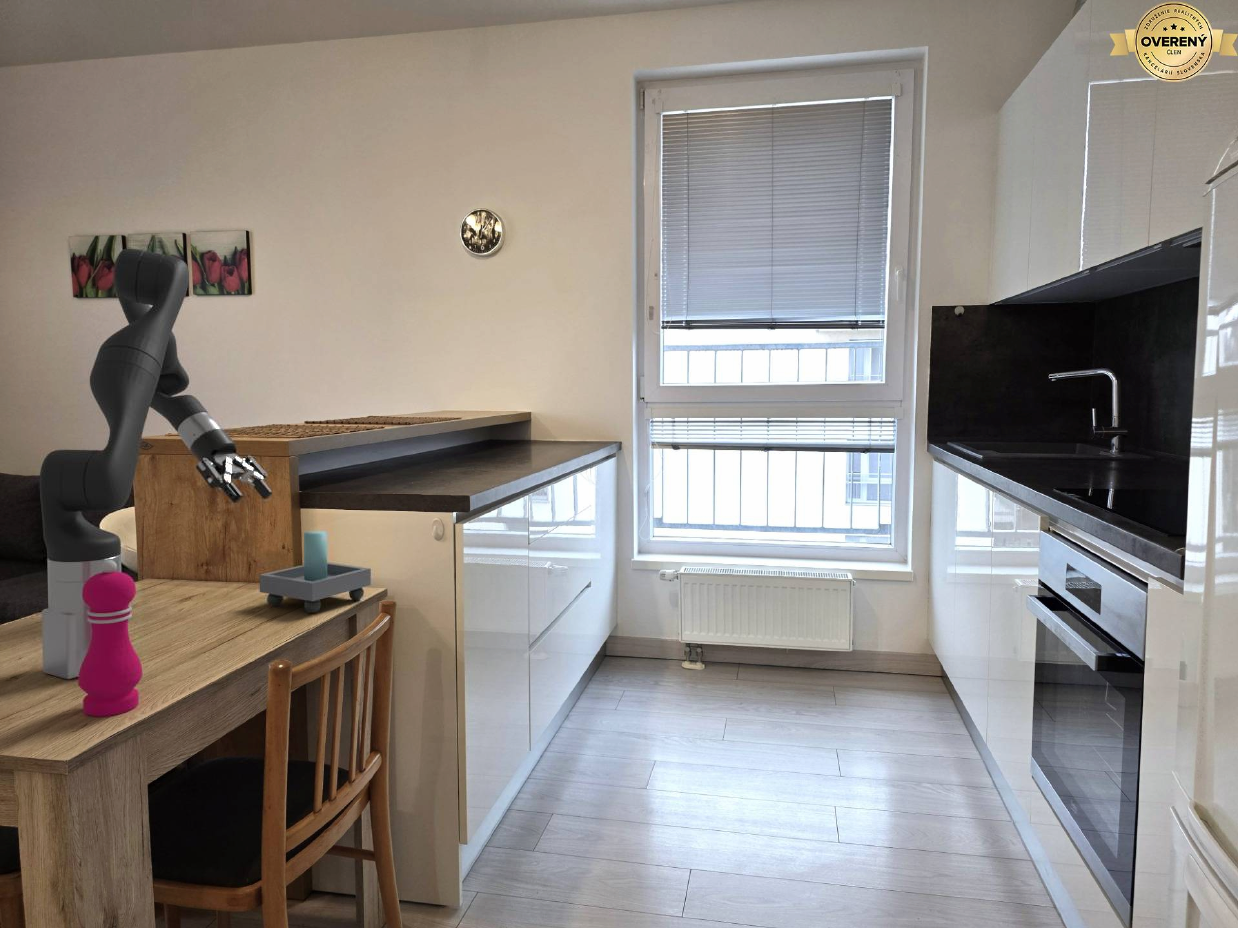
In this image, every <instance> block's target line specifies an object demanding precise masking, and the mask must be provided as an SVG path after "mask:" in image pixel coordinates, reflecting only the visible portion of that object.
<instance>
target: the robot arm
mask: <svg viewBox="0 0 1238 928" xmlns="http://www.w3.org/2000/svg"><path fill="white" fill-rule="evenodd" d="M189 271H190V270H189V267H188V265H187V263H186V262H185V261H184V260H182V259H181V258H177V257H175V256H171V255H168V254H167V255H166V254H162V253H158V252H153V251H148V250H143V249H138V248H125V249H122V250H121V251H120V252H119V253H118V255H117V257H116V259H115V262H114V267H113V275H112V276H113V285H114V290H115V293H116V296H117V299H118V301H119V304H120V307H121V309H122V312H123V314H124V316H125V318H126V320H127V322H128V325H126V326H123V327H122V328H121V329H119V330H118V331H116V332H114V333H113V334H112V335H110V336H109V337H108V338H107V339H106V340H105V341H104V342H102V344H101V345H100V348H98V349H99V350H98V352H97V354H96V358H95V361H94V363H93V366H92V369H91V372H90V375H89V387H90V390H91V393H92V395H93V398H94V399H95V401H96V403H97V405H98V407H99V408H100V410H101V412H102V414H103V416H104V417H105V419H106V422H107V425H108V428H109V437H108V439H107V440H108V441H107V444H106V446H105V448H104V449H101V450H99V449H98V450H97V449H56V450H53V451H50V452H49V453H48V454H47V455H46V456H45V458H44V459H43V461H42V464H41V467H40V472H39V495H40V496H39V497H40V506H41V507H40V508H41V518H42V530H43V531H42V533H43V541H44V543H45V547H46V554H47V555H46V558H47V560H46V561H47V598H48V600H47V601H48V602H47V603H48V607H47V608H44V609H42V611H41V632H42V633H41V635H42V638H41V640H42V673H44V674H48V675H52V676H55V677H59V678H62V679H66V680H70V679H75V678H79V671H80V668H81V665H82V663H83V660H84V658H85V656H86V654H87V651H88V649H89V647H90V643H91V637H92V627H91V623H90V622H88V621H87V618H88V614H87V611H88V610H89V609H90V607H89V606H88V605H87V604H86V603H85V602H84V600H83V598H82V591H83V586H84V584H85V583H86V581H87V580H88V579H89V578H90V577H92V576H94V575H96V574H98V573H102V572H103V571H102V570H101V565H102V563H103V562H105V561H107V560H112V561H114V562H115V563H116V564H117V569H116V570H115V571H117V572H122V542H121V541H122V540H121V538H120V537H119V535H117V534H116V533H114V532H111V531H108V530H106V529H101V528H100V527H97V526H96V525H93V524H91V523H90V522H89V521H88V520H87V519H85V517H84V516H83V513H82V512H116V511H118V510H120V509H122V508H123V507H124V506H125V505H126V503H127V501H128V499H129V497H130V495H131V491H132V488H133V484H134V481H135V480H134V479H135V475H136V470H137V463H138V458H139V452H140V447H141V443H142V442H141V441H142V437H143V432H144V428H145V424H146V421H147V417H148V414H149V410H150V408H151V409H152V410H154V411H156V412H157V413H159V414H160V415H161V416H163V418H165V420H167V421H168V422H169V424H170V425H171V426H172V427H173V429H174V430H175V432H177V433H178V435H179V436H180V438H181V440H182V441H183V443H184V445H186V447H187V448H188V450H189V451H190V452H191V454H192V455H194V457H195V458H196V460H197V461H198V463H197V464H196V466H195V468H196V470H197V471H198V473H199V474H200V476H201V477H202V478H203V480H204V481H205V483H206V484H207V485H208V486H209V487H210V488H211V489H215V488H218V489H219V490H220V491H223V492H224V493H225V495H226V496H227V497H228V498H229V500H231V502H232V503H233V504H237V503H239V502H240V501H241V500H242V499H243V497H244V494H243V493H242V492H241V491H240V490H239V488H238V487H237V486H236V485H235V484H234V483H233V482H232V481H231V480H239V481H241V482H242V483H247V484H249V485H251V486H253V488H254V490H255V491H256V492H257V493H258V494H259V496H260V497H261V498H262V499H263V500H268V499H269V498H270V496H272V495H273V491H272V490H271V488H270V487H269V486H268V484H267V483H266V482H265V481H264V480H265V479H266V478H267V477H268V473H267V472H266V471H265V470H264V468H262V466H261V465H260V464H259V463H258V461H256V460H255V458H254V457H253V456H251V455H247V456H246V458H242V457H241V456H240V455H239V454H238V453H237V448H238V447H237V444H236V443H235V442H234V440H233V439H232V438H231V437H230V435H229V434H228V433H227V431H226V430H225V429H224V428H223V427H222V426H221V424H220V423H219V421H217V420H216V418H214V417H213V416H212V415H211V414H210V413H209V412H208V411H207V409H206V408H205V407H204V406H203V404H202V403H201V402H200V401H199V400H198V398H197V397H195V396H194V395H192V394H182V395H181V394H180V393H183V392H184V391H186V390H187V388H188V387H189V384H190V378H189V375H188V373H187V372H186V370H185V369H184V367H183V365H182V364H181V362H180V360H179V356H178V348H177V347H178V346H177V340H176V336H175V333H174V332H173V327H174V326H175V323H176V321H177V318H178V316H179V313H180V310H181V309H182V305H183V303H184V300H185V297H186V295H187V290H188V287H189V281H190V272H189ZM178 394H180V395H178ZM175 395H176V396H175ZM245 472H246V473H245ZM212 477H213V479H212Z"/></svg>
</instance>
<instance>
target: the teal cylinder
mask: <svg viewBox="0 0 1238 928" xmlns="http://www.w3.org/2000/svg"><path fill="white" fill-rule="evenodd" d="M303 556H304V557H303V561H304V562H303V563H304V564H303V565H304V580H307V581H316V580H320V579H324V578H327V562H328V532H327V531H326V530H325V531H324V530H311V531H305V532H304V533H303Z"/></svg>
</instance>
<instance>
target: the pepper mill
mask: <svg viewBox="0 0 1238 928" xmlns="http://www.w3.org/2000/svg"><path fill="white" fill-rule="evenodd" d="M116 569H117V564H116V563H115V562H114V561H112V560H107V561H105V562H103V563H102V565H101V570H102V571H103V572H102V573H98V574H96V575H94V576H92V577H90V578H89V579H88V580H87V581H86V583H85V584H84V586H83V591H82V598H83V600H84V602H85V603H86V604H87V605H88V606H89V607H90V609H89V610H88V611H87V614H88V618H87V621H88V622H90V623H91V627H92V637H91V643H90V647H89V649H88V651H87V654H86V656H85V658H84V660H83V663H82V665H81V668H80V671H79V677H77V678H78V679H77V680H78V681H77V683H78V686H79V688H80V689H81V690H82V691H83V692H84V693H86V695H85V696H84V698H83V699H82V707H83V708H82V709H83V710H82V712H83V713H84V715H86V716H89V717H110V716H116V715H119V714H120V715H121V714H124V713H126V712H129V711H132V710H133V709H135V708H136V707H137V706H139V701H140V700H139V698H140V697H139V690H138V689H137V688H135V687H136V686H137V685H138V684H139V683H140V681H141V679H142V678H143V666H142V663H141V660H140V657H139V655H138V653H137V652H136V650H135V649H134V646H133V645H132V642H131V639H130V636H129V619H131V618H132V616H133V613H132V609H133V608H132V606H131V605H130V603H131V602H132V601H133V600H134V598H135V597H136V593H137V587H136V583H135V581H134V579H133V577H131V576H130V575H128V574H127V573H125V572H122V571H121V572H117V571H115V570H116Z"/></svg>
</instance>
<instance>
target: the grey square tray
mask: <svg viewBox="0 0 1238 928" xmlns="http://www.w3.org/2000/svg"><path fill="white" fill-rule="evenodd" d="M371 572H372V568H368V567H363V566H362V567H361V566H354V565H349V564H348V565H347V564H341V563H334V562H328V561H327V578H324V579H320V580H316V581H307V580H304V564H303V565H297V566H291V567H289V568H284V569H279V570H275V571H271V572H265V573H262V574H259V593H263V594H267V597H266V602H267V603H268V605H270V606H271V607H278V606H280V605H281V604H282V603H283V600H284V597H285V598H292V599H297V600H303V601H305V602H304V605H303V606H304V607H303V608H304V610H305V611H306V612H307V613H309V614H315V613H317V612H319V610H320V609H321V605H322V604H321V601H320V600H322V599H325V598H329V597H333V596H337V595H340V594H343V593H344V594H345V593H348V596H349V597H350V599H351V600H354V601H358V600H361V599H362V598H363V597H364V594H365V590H364V588H365V587H369V586H371V585H372V584H371V582H372V579H371V575H372V573H371Z"/></svg>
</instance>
